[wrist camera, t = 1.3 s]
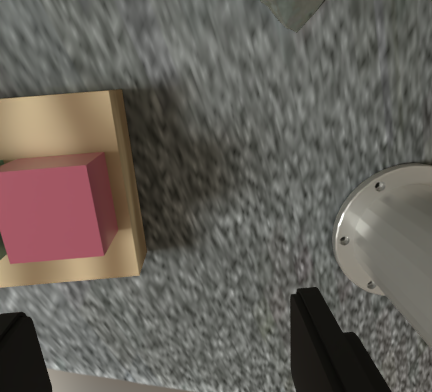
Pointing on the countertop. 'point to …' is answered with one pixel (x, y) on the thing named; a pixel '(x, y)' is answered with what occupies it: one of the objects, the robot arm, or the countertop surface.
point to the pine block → (77, 144)
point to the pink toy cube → (56, 208)
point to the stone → (293, 11)
